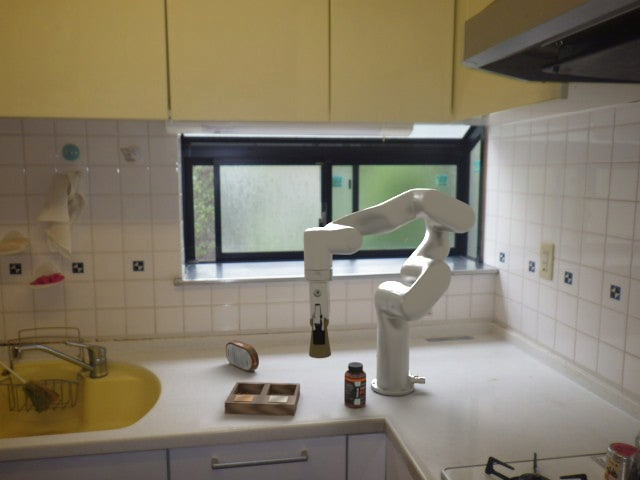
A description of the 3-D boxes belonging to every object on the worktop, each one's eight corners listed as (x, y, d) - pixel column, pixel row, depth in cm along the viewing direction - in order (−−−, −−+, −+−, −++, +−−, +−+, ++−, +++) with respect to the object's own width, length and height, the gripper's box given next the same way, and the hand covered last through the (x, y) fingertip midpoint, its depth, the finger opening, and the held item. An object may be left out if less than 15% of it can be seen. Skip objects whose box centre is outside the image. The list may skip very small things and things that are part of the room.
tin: (259, 372, 165) (259, 347, 164) (252, 375, 163) (251, 349, 162) (232, 361, 176) (231, 337, 175) (224, 363, 173) (223, 339, 172)
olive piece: (328, 358, 137) (328, 318, 135) (306, 357, 138) (305, 317, 137) (333, 351, 143) (332, 312, 141) (311, 350, 144) (310, 311, 142)
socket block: (300, 393, 149) (300, 382, 149) (294, 415, 135) (294, 403, 135) (236, 391, 150) (236, 381, 150) (224, 413, 136) (224, 401, 136)
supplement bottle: (363, 410, 138) (363, 369, 137) (341, 407, 140) (342, 367, 139) (368, 401, 144) (368, 361, 143) (347, 398, 146) (347, 359, 144)
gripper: (331, 281, 129) (332, 352, 131) (334, 268, 146) (335, 331, 148) (301, 281, 129) (302, 351, 132) (307, 268, 146) (308, 331, 148)
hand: (319, 340), depth 140 cm, fingers closed on olive piece, 4 cm apart
